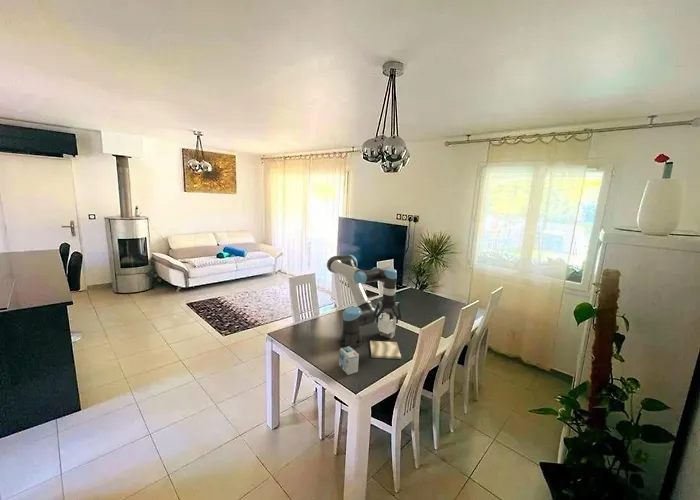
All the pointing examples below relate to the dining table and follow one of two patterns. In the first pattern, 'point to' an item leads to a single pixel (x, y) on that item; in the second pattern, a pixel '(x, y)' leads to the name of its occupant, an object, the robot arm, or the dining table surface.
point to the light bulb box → (348, 360)
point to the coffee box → (389, 333)
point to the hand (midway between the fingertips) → (386, 327)
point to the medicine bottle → (386, 323)
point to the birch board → (384, 349)
